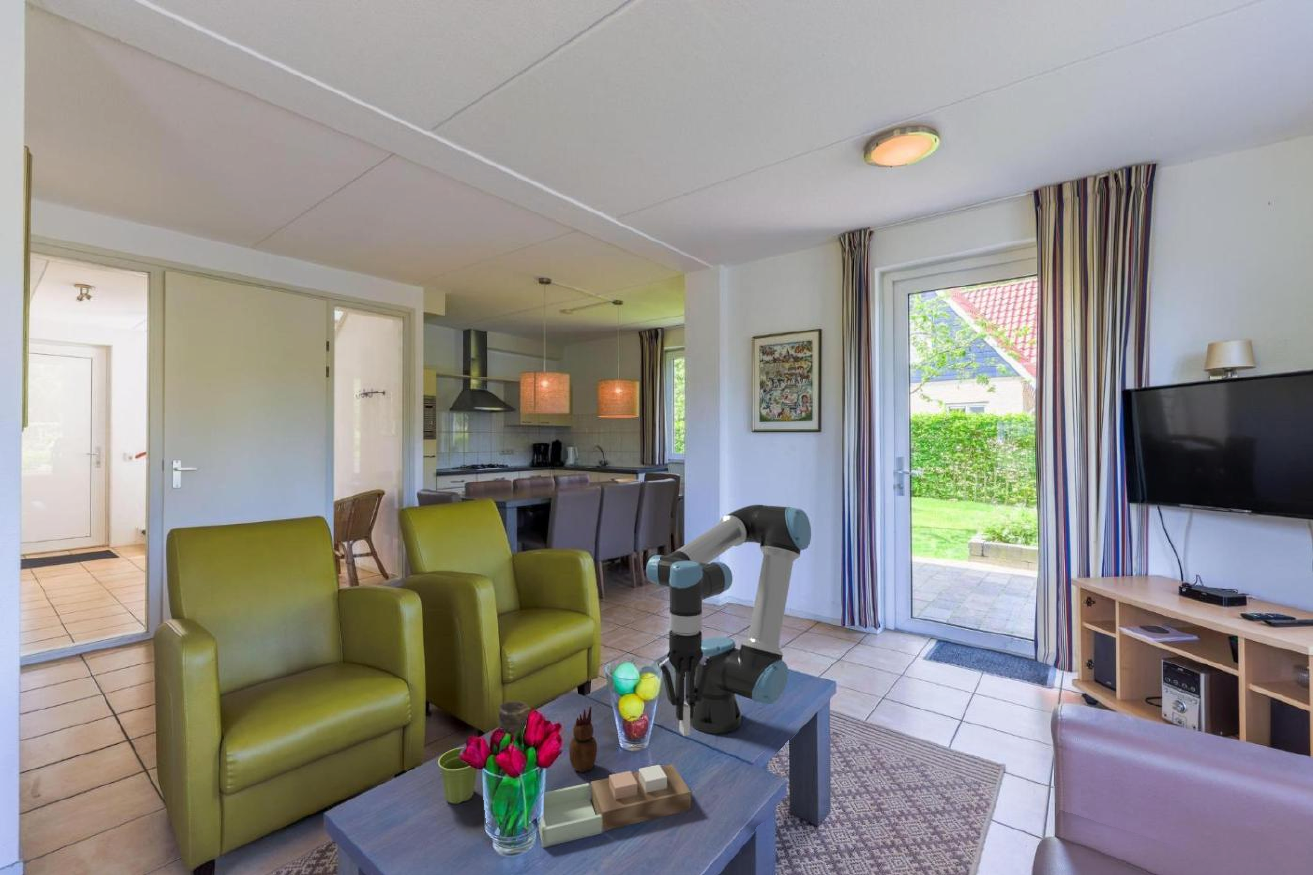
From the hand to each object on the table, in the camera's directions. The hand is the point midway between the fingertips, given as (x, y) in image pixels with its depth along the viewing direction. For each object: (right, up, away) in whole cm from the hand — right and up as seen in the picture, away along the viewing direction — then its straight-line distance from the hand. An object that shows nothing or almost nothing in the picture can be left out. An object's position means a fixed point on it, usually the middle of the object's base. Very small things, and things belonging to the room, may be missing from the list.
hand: (684, 732), depth 130 cm
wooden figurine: (-25, -15, +11) cm, 31 cm away
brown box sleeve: (-10, -14, -3) cm, 18 cm away
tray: (-26, -14, -9) cm, 31 cm away
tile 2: (-7, -10, -2) cm, 13 cm away
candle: (-39, -15, +1) cm, 42 cm away
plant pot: (-52, -15, 0) cm, 54 cm away
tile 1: (-14, -10, -5) cm, 18 cm away
